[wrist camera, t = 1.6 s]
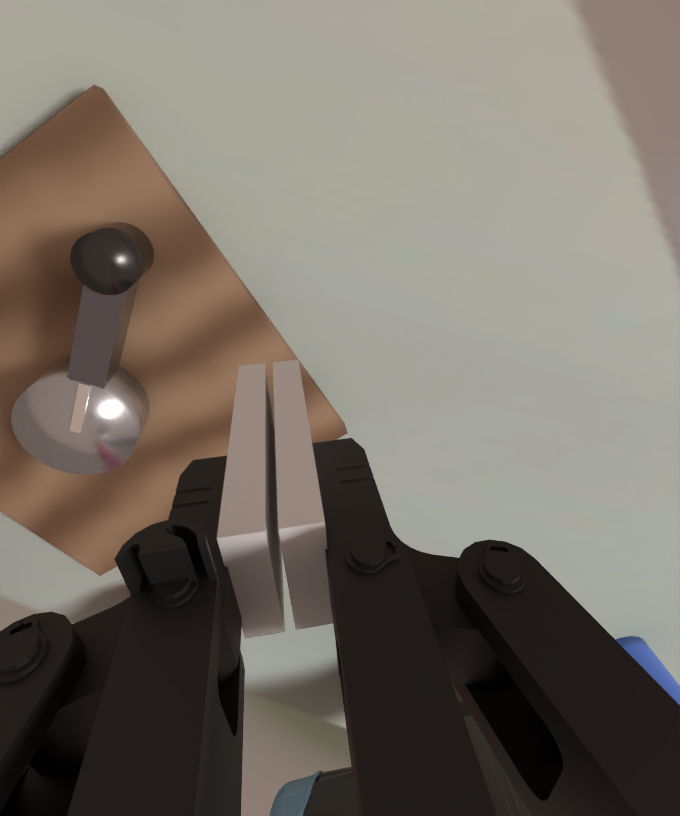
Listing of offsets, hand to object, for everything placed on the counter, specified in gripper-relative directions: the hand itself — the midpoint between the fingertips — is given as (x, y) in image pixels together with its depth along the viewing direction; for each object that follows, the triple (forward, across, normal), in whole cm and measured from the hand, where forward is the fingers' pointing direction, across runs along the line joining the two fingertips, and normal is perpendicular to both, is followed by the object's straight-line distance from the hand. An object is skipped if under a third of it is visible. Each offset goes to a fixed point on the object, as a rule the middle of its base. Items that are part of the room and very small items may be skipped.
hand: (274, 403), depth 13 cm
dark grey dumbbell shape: (+16, +11, +4) cm, 20 cm away
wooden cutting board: (+18, +13, +8) cm, 24 cm away
